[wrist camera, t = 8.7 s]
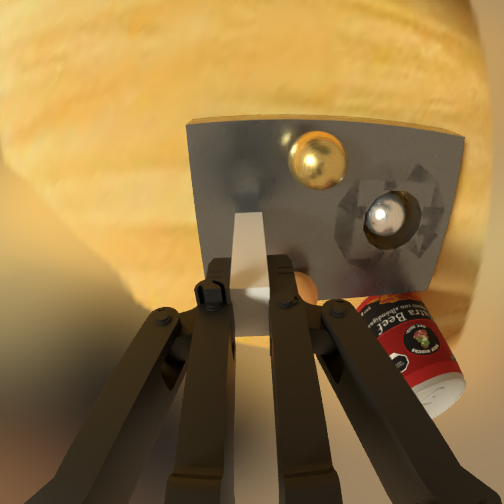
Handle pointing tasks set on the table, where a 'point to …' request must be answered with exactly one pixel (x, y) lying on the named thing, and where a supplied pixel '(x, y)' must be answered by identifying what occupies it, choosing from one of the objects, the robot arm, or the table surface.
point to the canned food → (415, 348)
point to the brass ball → (318, 160)
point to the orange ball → (306, 288)
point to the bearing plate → (327, 197)
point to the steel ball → (385, 215)
